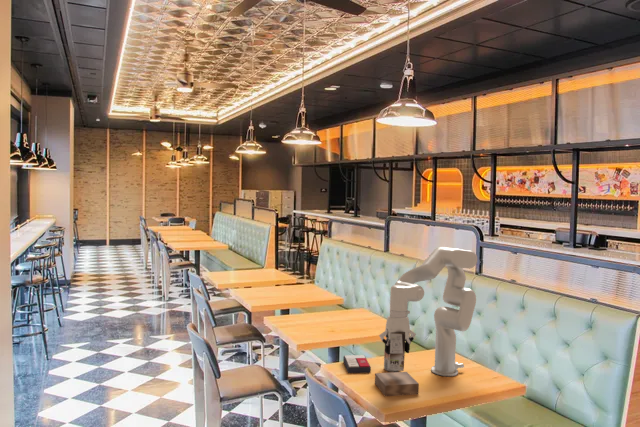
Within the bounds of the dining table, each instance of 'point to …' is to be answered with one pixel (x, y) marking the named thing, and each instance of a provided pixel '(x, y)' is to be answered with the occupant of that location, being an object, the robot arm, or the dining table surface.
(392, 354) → the coffee box
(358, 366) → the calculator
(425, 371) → the dining table surface
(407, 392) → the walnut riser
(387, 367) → the beverage can
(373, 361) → the dining table surface
